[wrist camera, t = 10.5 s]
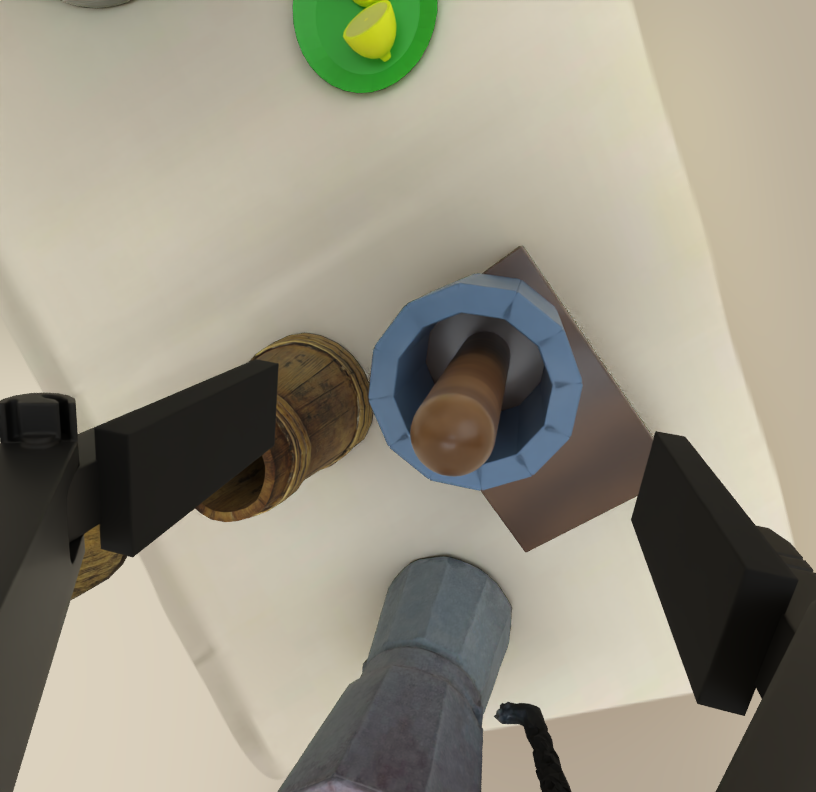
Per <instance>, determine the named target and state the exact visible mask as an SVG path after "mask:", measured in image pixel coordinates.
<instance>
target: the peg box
mask: <svg viewBox="0 0 816 792" xmlns="http://www.w3.org/2000/svg"><path fill="white" fill-rule="evenodd" d="M482 274H487V275H494V276H502V277H509V278H516V279H520V281H521V280H522V281H524V282H525V283H526V284H527V285H529V286H530V287H531V288H532V289H534V290H535V291H536V292H537V293H539V294H540V295H541V296H542V297H543V298H545V299H546V300H547V301H548V302H550V303H551V304H552V305H553V306H555V309H556V310H557V312H558V314H559V317H560V320H561V322H562V325H563V327H564V330H565V333H566V336H567V338H568V341H569V344H570V347H571V350H572V353H573V355H574V358H575V361H576V364H577V367H578V370H579V372H580V375H581V378H582V384H583V387H582V391H581V395H580V400H579V404H578V409H577V413H576V417H575V422H574V426H573V430H572V435H571V436H570V438H569V440H568V441H567V442H566V443H565V444H564V445H563V446H562V447H561V448H560V449H559V450H558V451H557V452H556V453H555V454H554V455H553V456H552V457H551V458H550V459H549V460H548V461H547V462H546V463H545V464H544V465H543V466H542V467H541V468H540V469H539V470H538V471H537V472H536V473H535V474H534V475H532V476H531V477H528V478H524V479H521V480H517V481H514V482H510V483H507V484H503V485H500V486H496V487H493V488H489V489H486V490H481V492H482V493H483V495H484V496H485V497H486V499H487V500H488V501H489V503H490V504H491V506H492V507H493V508H494V510H495V511H496V513H497V514H498V515H499V517H500V518H501V519H502V521H503V522H504V524H505V525H506V526H507V528H508V529H509V530H510V532H511V533H512V535H513V536H514V537H515V539H516V540H517V541H518V543H519V544H520V546H521V547H522V548H523V550H524V551H525V552H528V551H530V550H532V549H534V548H536V547H538V546H540V545H542V544H544V543H546V542H548V541H550V540H552V539H554V538H556V537H557V536H559V535H561V534H563V533H565V532H567V531H569V530H571V529H573V528H575V527H577V526H579V525H581V524H583V523H585V522H587V521H589V520H591V519H593V518H595V517H597V516H599V515H601V514H603V513H605V512H607V511H608V510H610V509H612V508H614V507H616V506H618V505H620V504H622V503H624V502H626V501H628V500H630V499H632V498H634V497H636V496H638V493H639V489H640V486H641V482H642V479H643V475H644V471H645V468H646V464H647V461H648V457H649V454H650V450H651V446H652V443H653V439H654V438H653V436H652V435H651V433H650V432H649V430H648V429H647V427H646V426H645V424H644V423H643V422H642V420H641V419H640V417H639V416H638V414H637V413H636V411H635V410H634V408H633V407H632V405H631V404H630V402H629V401H628V399H627V398H626V397H625V395H624V394H623V392H622V391H621V389H620V388H619V386H618V385H617V383H616V382H615V380H614V379H613V377H612V376H611V374H610V373H609V372H608V370H607V369H606V367H605V366H604V364H603V363H602V361H601V360H600V358H599V357H598V355H597V354H596V352H595V351H594V349H593V348H592V347H591V345H590V344H589V342H588V341H587V339H586V338H585V336H584V335H583V333H582V332H581V330H580V329H579V327H578V326H577V324H576V323H575V322H574V320H573V319H572V317H571V316H570V314H569V313H568V311H567V310H566V308H565V307H564V305H563V304H562V302H561V301H560V299H559V298H558V297H557V295H556V294H555V292H554V291H553V289H552V288H551V286H550V285H549V283H548V282H547V280H546V279H545V277H544V276H543V274H542V273H541V272H540V270H539V269H538V267H537V266H536V264H535V263H534V261H533V260H532V258H531V257H530V255H529V254H528V252H527V251H526V249H525V248H524V247H523V246H519V247H518V248H516V249H515V250H514V251H512V252H511V253H510V254H508V255H507V256H505V257H504V258H503V259H501V260H500V261H499V262H497V263H496V264H494V265H493V266H492V267H490V268H489V269H488V270H486V271H485V272H484V273H482ZM426 365H427V367H428V370H429V372H430V375H431V377H432V380H433V382H434V386H433V388H432V389H431V391H430V392H429V394H428V395H427V397H426V398H425V399H424V401H423V402H422V404H421V405H420V407H419V408H418V410H417V411H416V413H415V415H414V417H413V420H412V423H411V430H410V438H411V444H412V447H413V450H414V452H415V454H416V456H417V457H418V459H419V460H420V461H421V462H422V463H423V464H424V465H425V466H426V467H427V468H428V469H430V470H432V471H433V472H435V473H438V474H441V475H444V476H453V477H455V476H463V475H466V474H469V473H471V472H473V471H475V470H477V469H478V468H480V467H481V466H482V465H483V464H484V463H485V462H486V461H487V459H488V458H489V457H490V455H491V453H492V451H493V448H494V445H495V441H496V435H497V430H498V424H499V419H500V413H501V411H504V410H507V409H510V408H513V407H516V406H519V405H521V403H522V402H523V401H524V400H525V399H526V398H527V397H528V396H529V395H530V394H531V392H532V391H533V390H534V389H535V388H536V387H537V386H538V385H539V384H540V383H541V379H542V374H543V369H544V362H543V360H542V357H541V354H540V351H539V349H538V346H537V345H536V344H534V343H533V342H532V341H531V340H529V339H528V338H527V337H526V336H524V335H523V334H522V333H521V332H519V331H518V330H517V329H516V328H514V327H513V326H512V325H511V324H509V323H508V322H507V321H506V320H505V319H499V318H493V317H486V316H480V315H473V314H467V313H460V314H457V315H455V316H452V317H449V318H447V319H444V320H442V321H439V322H437V324H436V325H435V326H434V328H433V329H432V330H431V331H430V333H429V341H428V348H427V355H426Z"/></svg>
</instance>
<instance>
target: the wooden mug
mask: <svg viewBox="0 0 816 792" xmlns="http://www.w3.org/2000/svg"><path fill="white" fill-rule="evenodd" d="M255 359H258V360H263V361H269V362H274V363H279V368H278V387H277V406H276V425H275V444H274V446H273V447H272V448H270V449H269V450H268V451H267V452H265V453H264V454H263V455H262V456H260V457H259V458H258V459H256V460H255V461H254V462H253V463H251V464H250V465H249V466H248V467H246V468H245V469H244V470H243V471H241V472H240V473H239V474H238V475H236V476H235V477H234V478H232V479H231V480H230V481H229V482H227V483H226V484H225V485H224V486H222V487H221V488H220V489H219V490H217V491H216V492H215V493H213V494H212V495H211V496H210V497H208V498H207V499H206V500H205V501H203V502H202V503H201V504H200V505H198V506H197V507H196V508H195V509H196V510H198V511H199V512H200V513H201V514H203V515H205V516H206V517H208V518H210V519H212V520H217V521H222V522H232V521H239V520H242V519H246V518H250V517H252V516H256V515H259V514H261V513H264V512H266V511H269V510H270V509H272V508H273V507H275V506H277V505H278V504H280V503H281V502H283V501H285V500H286V499H287V498H288V497H289V496H291V495H292V494H293V493H294V492H295V491H297V489H298V488H299V486H300V485H301V483H302V482H303V481H304V480H305V479H307V478H308V477H310V476H311V475H313V474H314V473H316V472H317V471H319V470H321V469H324V468H326V467H329V466H331V465H333V464H334V463H336V462H337V461H338V460H340V459H341V458H342V457H344V456H345V455H346V454H347V453H348V452H349V451H350V450H351V449H352V448H353V447H355V446H356V445H357V444H358V443H359V442H361V441H362V440H363V439H364V438H365V436H366V433H367V431H368V429H369V427H370V424H371V422H372V407H371V405H370V403H369V398H368V395H369V383H368V381H367V379H366V376H365V374H364V371H363V370H362V368H361V367H360V365H359V364H358V363H357V361H356V360H355V359H354V357H353V356H352V355H351V354H350V353H348V352H347V351H346V350H345V349H344V348H343V347H341V346H340V345H339V344H338V343H336V342H333V341H331V340H329V339H327V338H325V337H323V336H320V335H314V334H309V333H301V334H295V335H289V336H287V337H285V338H282V339H280V340H278V341H276V342H274V343H272V344H271V345H269V346H267V347H266V348H264V349H263V350H261V351H260V352H258V353H257V354H256V355H255V356H254V357H253V358H252V359H251V360H250V361H253V360H255ZM250 361H249V362H250ZM84 541H85V554H84V557H83V560H82V564H81V567H80V570H79V573H78V577H77V580H76V583H75V587H74V590H73V593H72V597H71V600H72V599H74V598H76V597H78V596H79V595H81V594H83V593H85V592H86V591H88V590H90V589H92V588H93V587H95V586H97V585H99V584H100V583H102V582H104V581H105V580H107V579H109V578H110V576H112V575H113V574H114V572H116V571H117V570H118V569H119V568H120V567H121V566H122V565H123V563H124V561H125V559H126V558H127V556H126V555H122V554H118V553H114V552H110V551H106V550H103V549H101V544H100V526H99V525H97V526H95V527H94V528H92V529H91V530H89V531H88V532H86V533H85V534H84Z"/></svg>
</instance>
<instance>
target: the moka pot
mask: <svg viewBox="0 0 816 792" xmlns="http://www.w3.org/2000/svg"><path fill="white" fill-rule="evenodd" d="M511 612H512V607H511V604H510V603H509V601H508V599H507V598H506V596H505V595H504V593H503V592H502V590H501V589H500V587H499V586H498V585H497V583H496V582H495V581H493V580H492V579H491V578H490V577H489V576H488V575H487V574H486V573H485V572H483V571H482V570H480V569H479V568H477V567H475V566H472V565H470V564H468V563H465V562H463V561H461V560H457V559H454V558H451V557H433V558H427V559H419V560H417V561H415V562H412V563H410V564H409V565H408V566H406V567H405V568H404V569H403V570H402V572H401V573H400V574H398V576H397V577H396V578H395V579H394V580H393V582H392V583H391V585H390V587H389V588H388V591H387V595H386V598H385V602H384V605H383V608H382V612H381V615H380V619H379V622H378V626H377V629H376V632H375V635H374V639H373V643H372V646H371V649H370V652H369V656H368V659H367V660H366V661H365V662H364V663H363V671H362V672H363V673H362V675H361V677H360V678H359V679H358V680H356V681H354V682H352V683H351V684H349V686H348V687H347V688H346V690H345V691H344V693H343V694H342V696H341V697H340V698H339V700H338V702H337V703H336V705H335V706H334V708H333V709H332V711H331V712H330V714H329V715H328V717H327V718H326V720H325V721H324V723H323V724H322V726H321V727H320V729H319V730H318V732H317V733H316V735H315V736H314V738H313V739H312V741H311V742H310V744H309V745H308V747H307V748H306V750H305V751H304V753H303V754H302V756H301V757H300V759H299V760H298V762H297V763H296V765H295V766H294V768H293V769H292V771H291V772H290V774H289V775H288V777H287V778H286V780H285V781H284V783H283V784H282V786H281V787H280V789H279V790H278V792H481V778H482V776H481V774H482V745H483V728H482V719H483V714H484V712H485V709H486V706H487V703H488V701H489V698H490V695H491V693H492V690H493V687H494V684H495V681H496V678H497V675H498V672H499V669H500V666H501V663H502V661H503V658H504V655H505V653H506V650H507V648H508V644H509V636H510V628H511ZM494 717H495V718H496V719H497V720H498V721H499V722H500V723H502V724H520V725H522V726H524V729H525V733H526V736H527V739H528V741H529V742H530V744H531V746H532V748H533V749H534V751H533V757H534V762H535V767H536V769H537V770H536V774H537V777H538V779H539V781H540V787H541V790H542V792H571V789H570V786H569V784H568V782H567V780H566V777H565V776H564V773H563V771H562V768H561V764H560V760H559V757H558V755H557V753H556V752H555V750H554V748H553V742H552V739H551V736H550V734H549V733H548V728H547V726H546V724H545V721H544V718H543V715H542V713H541V710H540V708H538V707H537V706H534V705H531V704H526V703H519V704H515V703H510V702H507V703H505V704H503V703H502V704H501V705H500V709H498V711H497V713H496V715H495V716H494Z"/></svg>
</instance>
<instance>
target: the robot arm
mask: <svg viewBox="0 0 816 792" xmlns="http://www.w3.org/2000/svg"><path fill="white" fill-rule="evenodd" d="M61 1H64V2H67V3H69V4H73V5H77V6H81V7H89V8H103V7H111V6H115V5H119V4H123V3H125V2H128V1H130V0H61ZM278 368H279V363H274V362H269V361H263V360H258V359H255V360H253V361H250V362H248V363H246V364H243V365H241V366H239V367H236V368H234V369H232V370H229V371H227V372H225V373H222V374H220V375H217V376H215V377H213V378H210V379H208V380H206V381H203V382H201V383H199V384H196V385H194V386H192V387H189V388H187V389H184V390H182V391H180V392H177V393H175V394H173V395H170V396H168V397H166V398H163V399H161V400H159V401H156V402H154V403H151V404H149V405H147V406H144V407H142V408H140V409H137V410H134V411H132V412H130V413H127V414H125V415H122V416H120V417H118V418H115V419H113V420H111V421H108V422H107V423H104V424H101V425H99V426H97V427H94V428H92V429H89V430H87V431H85V432H82V433H80V434H78V433H77V418H76V403H75V399H74V398H72V397H70V396H68V395H63V394H59V393H29V394H22V395H16V396H12V397H9V398H5V399H3V400H1V401H0V442H1V443H0V792H13V790H14V786H15V783H16V780H17V776H18V773H19V770H20V766H21V763H22V760H23V756H24V753H25V750H26V746H27V743H28V739H29V736H30V733H31V730H32V726H33V723H34V720H35V717H36V713H37V710H38V706H39V703H40V700H41V697H42V693H43V690H44V687H45V683H46V680H47V677H48V673H49V670H50V667H51V663H52V660H53V656H54V653H55V650H56V647H57V643H58V640H59V637H60V633H61V630H62V626H63V623H64V620H65V617H66V613H67V610H68V607H69V603H70V600H71V597H72V593H73V590H74V587H75V583H76V580H77V577H78V573H79V570H80V567H81V564H82V560H83V557H84V554H85V541H84V534H85V533H86V532H88V531H89V530H91V529H92V528H94V527H95V526H97V525H99V526H100V544H101V549H103V550H106V551H110V552H114V553H118V554H122V555H126V556H130V557H134V556H135V555H136V554H138V553H139V552H140V551H141V550H143V549H144V548H145V547H146V546H148V545H149V544H150V543H151V542H153V541H154V540H155V539H157V538H158V537H159V536H160V535H162V534H163V533H164V532H165V531H167V530H168V529H169V528H170V527H172V526H173V525H174V524H176V523H177V522H178V521H179V520H181V519H182V518H183V517H184V516H186V515H187V514H188V513H189V512H191V511H192V510H193V509H194V508H196V507H197V506H198V505H200V504H201V503H202V502H203V501H205V500H206V499H207V498H208V497H210V496H211V495H212V494H213V493H215V492H216V491H217V490H219V489H220V488H221V487H222V486H224V485H225V484H226V483H227V482H229V481H230V480H231V479H232V478H234V477H235V476H236V475H238V474H239V473H240V472H241V471H243V470H244V469H245V468H246V467H248V466H249V465H250V464H251V463H253V462H254V461H255V460H256V459H258V458H259V457H260V456H262V455H263V454H264V453H265V452H267V451H268V450H269V449H270V448H272V447H273V446H274V444H275V425H276V406H277V387H278ZM631 521H632V524H633V526H634V529H635V532H636V535H637V538H638V540H639V543H640V546H641V549H642V551H643V554H644V557H645V560H646V563H647V565H648V568H649V571H650V574H651V576H652V579H653V582H654V585H655V588H656V590H657V593H658V596H659V599H660V601H661V604H662V607H663V610H664V613H665V615H666V618H667V621H668V624H669V626H670V629H671V632H672V635H673V638H674V640H675V643H676V646H677V649H678V651H679V654H680V657H681V660H682V663H683V665H684V668H685V671H686V674H687V676H688V679H689V682H690V685H691V688H692V690H693V693H694V696H695V699H696V701H697V704H700V705H704V706H708V707H712V708H716V709H720V710H723V711H727V712H731V713H735V714H739V715H743V716H745V714H746V711H747V709H748V706H749V704H750V701H751V699H752V696H753V694H754V691H755V689H756V688H757V690H758V692H759V694H760V696H761V698H762V700H761V702H760V704H759V706H758V708H757V711H756V713H755V714H754V716H753V718H752V720H751V722H750V724H749V726H748V728H747V730H746V732H745V734H744V736H743V738H742V741H741V742H740V744H739V746H738V748H737V750H736V752H735V754H734V756H733V758H732V760H731V762H730V764H729V766H728V768H727V770H726V772H725V774H724V776H723V778H722V780H721V782H720V784H719V786H718V788H717V790H716V792H816V573H813V569H812V568H811V567H810V565H809V564H808V563H807V562H806V561H804V560H803V557H802V556H801V555H800V554H799V553H798V551H797V550H796V549H795V548H794V547H793V546H792V545H791V543H789V542H788V541H787V540H785V539H784V538H782V537H781V536H779V535H778V534H776V533H775V532H774V531H772V530H771V529H769V528H765V527H760V526H756V525H755V524H754V523H753V522H752V520H751V519H750V518H749V517H748V515H747V514H746V513H745V512H744V510H743V509H742V508H741V507H740V505H739V504H738V503H737V501H736V500H735V499H734V498H733V496H732V495H731V494H730V493H729V491H728V490H727V489H726V488H725V486H724V485H723V484H722V483H721V481H720V480H719V479H718V478H717V476H716V475H715V474H714V472H713V471H712V470H711V469H710V467H709V466H708V465H707V464H706V462H705V461H704V460H703V459H702V457H701V456H700V455H699V454H698V452H697V451H696V450H695V448H694V447H693V446H692V445H691V443H690V442H689V441H688V440H687V438H686V437H684V436H679V435H673V434H668V433H662V432H655V436H654V439H653V443H652V446H651V450H650V454H649V457H648V461H647V464H646V468H645V471H644V475H643V479H642V482H641V486H640V489H639V493H638V497H637V500H636V504H635V507H634V511H633V515H632V518H631Z"/></svg>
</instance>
